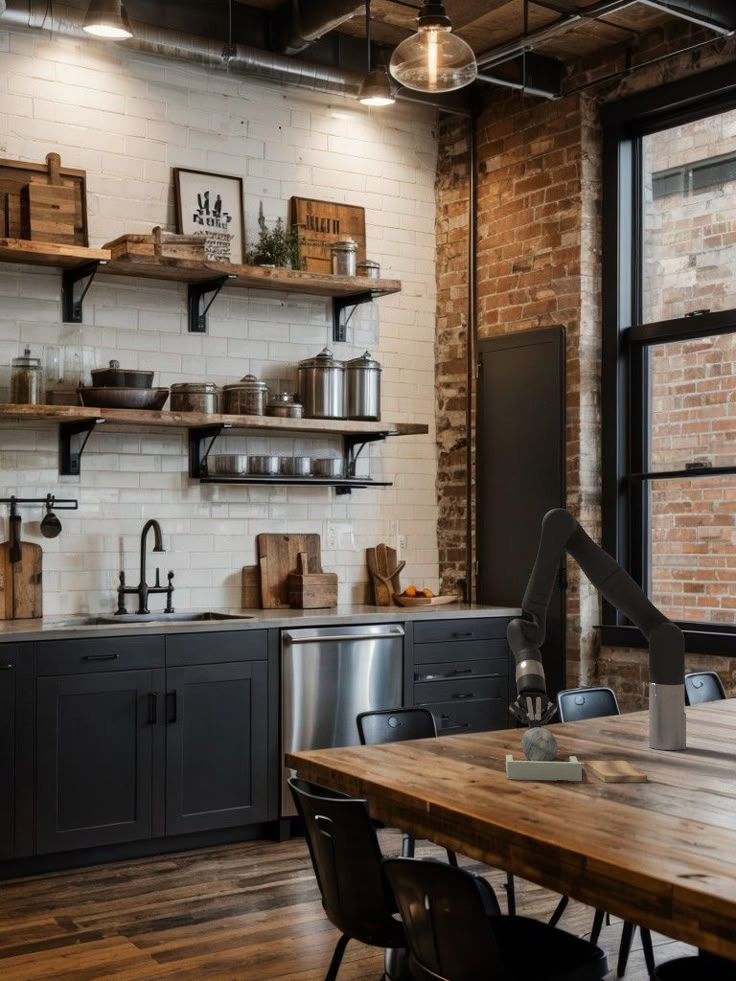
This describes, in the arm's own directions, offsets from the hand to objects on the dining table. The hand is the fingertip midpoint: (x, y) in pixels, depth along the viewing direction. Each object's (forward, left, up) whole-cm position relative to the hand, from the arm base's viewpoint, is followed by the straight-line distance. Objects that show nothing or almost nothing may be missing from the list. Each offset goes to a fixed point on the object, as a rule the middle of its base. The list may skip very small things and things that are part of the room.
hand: (536, 735), depth 309 cm
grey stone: (-1, +7, -6) cm, 9 cm away
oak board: (-18, +21, -5) cm, 28 cm away
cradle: (-1, +21, -5) cm, 21 cm away
